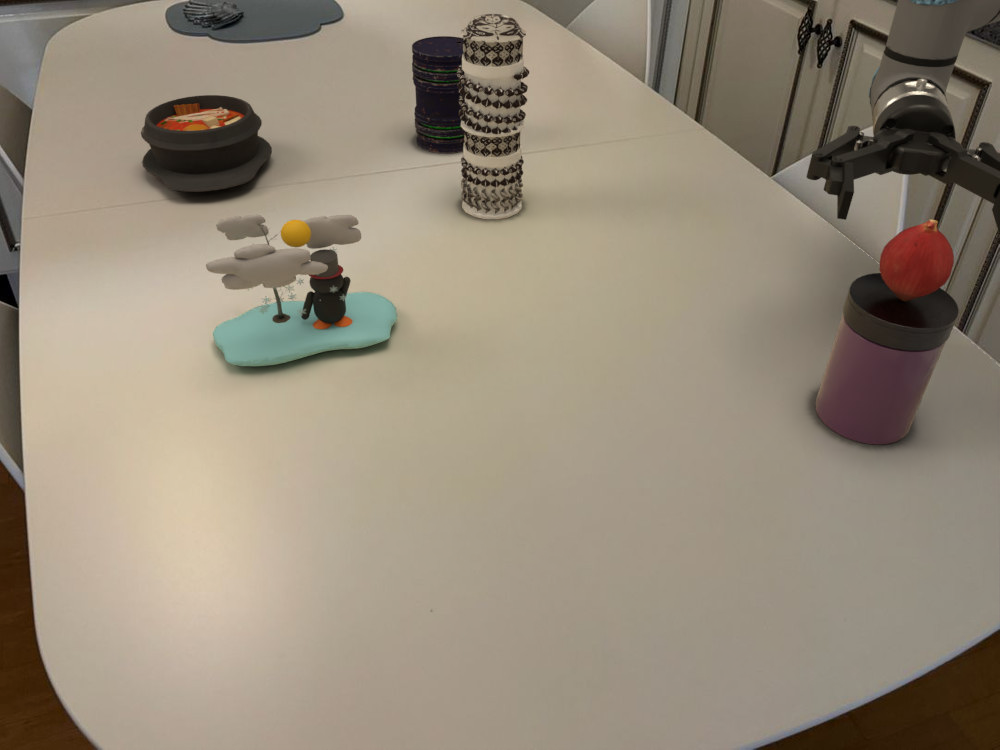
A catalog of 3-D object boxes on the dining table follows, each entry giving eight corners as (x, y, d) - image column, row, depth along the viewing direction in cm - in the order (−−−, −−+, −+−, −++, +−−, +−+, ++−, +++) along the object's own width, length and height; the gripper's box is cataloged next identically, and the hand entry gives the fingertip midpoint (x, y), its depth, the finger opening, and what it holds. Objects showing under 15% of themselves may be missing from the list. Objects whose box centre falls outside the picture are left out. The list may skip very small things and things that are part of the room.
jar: (907, 396, 87) (950, 288, 79) (912, 453, 81) (960, 341, 73) (816, 378, 89) (848, 271, 81) (813, 433, 83) (849, 322, 75)
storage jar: (439, 158, 132) (436, 60, 123) (403, 138, 138) (398, 43, 129) (489, 143, 137) (490, 47, 128) (453, 124, 143) (451, 32, 134)
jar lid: (945, 304, 81) (953, 282, 79) (954, 359, 74) (964, 336, 72) (842, 286, 83) (849, 265, 81) (842, 339, 76) (849, 316, 74)
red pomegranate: (855, 287, 78) (880, 207, 73) (908, 277, 80) (936, 199, 75) (896, 321, 74) (926, 239, 69) (951, 311, 75) (984, 230, 70)
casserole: (146, 141, 136) (132, 89, 131) (265, 129, 140) (257, 78, 135) (144, 211, 117) (128, 153, 112) (282, 194, 121) (273, 138, 116)
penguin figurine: (390, 299, 100) (381, 179, 91) (408, 351, 92) (400, 226, 83) (214, 324, 96) (185, 201, 86) (216, 381, 88) (185, 252, 78)
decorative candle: (501, 185, 125) (504, 5, 109) (537, 210, 119) (545, 23, 103) (447, 200, 121) (442, 15, 106) (481, 226, 115) (481, 34, 99)
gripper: (798, 79, 91) (789, 156, 75) (1056, 107, 85) (1106, 198, 69) (782, 146, 95) (771, 233, 79) (1027, 177, 90) (1067, 278, 74)
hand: (927, 217), depth 74 cm, fingers open, 13 cm apart
